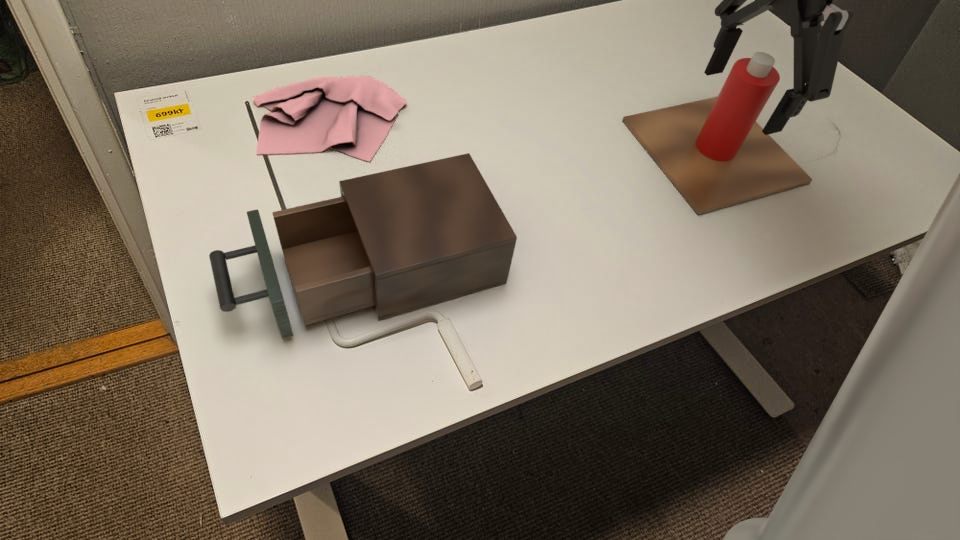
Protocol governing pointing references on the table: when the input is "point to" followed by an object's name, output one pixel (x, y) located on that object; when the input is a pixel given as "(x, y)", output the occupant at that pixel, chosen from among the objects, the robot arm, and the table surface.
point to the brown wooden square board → (708, 180)
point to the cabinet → (429, 233)
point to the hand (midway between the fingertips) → (741, 101)
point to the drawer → (306, 264)
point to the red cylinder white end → (738, 106)
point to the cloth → (328, 116)
